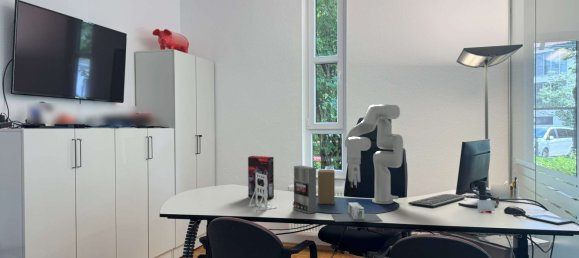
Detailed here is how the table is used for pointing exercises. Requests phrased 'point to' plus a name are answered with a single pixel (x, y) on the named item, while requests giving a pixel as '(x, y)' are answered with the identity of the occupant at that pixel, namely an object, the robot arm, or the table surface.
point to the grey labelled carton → (305, 189)
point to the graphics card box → (262, 167)
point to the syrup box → (356, 210)
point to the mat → (349, 219)
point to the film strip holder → (261, 195)
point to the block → (326, 187)
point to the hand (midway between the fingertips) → (353, 194)
